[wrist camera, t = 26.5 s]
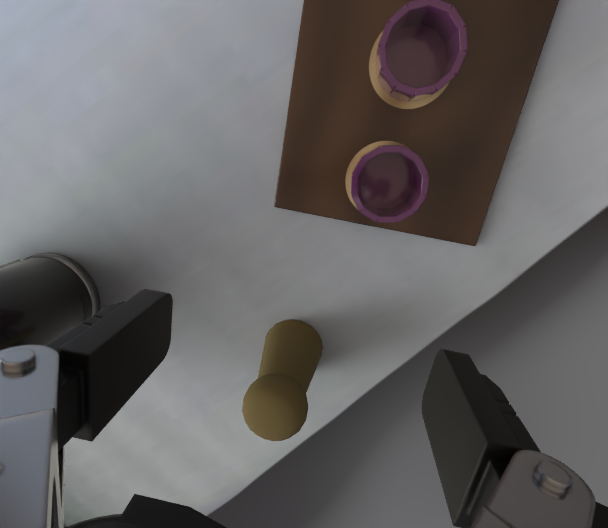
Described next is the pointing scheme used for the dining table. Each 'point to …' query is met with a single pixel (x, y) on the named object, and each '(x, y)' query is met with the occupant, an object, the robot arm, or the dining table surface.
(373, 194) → the plum dish
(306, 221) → the dining table surface
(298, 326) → the yellow pawn figure
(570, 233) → the dining table surface
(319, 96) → the metal board
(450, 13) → the plum dish
